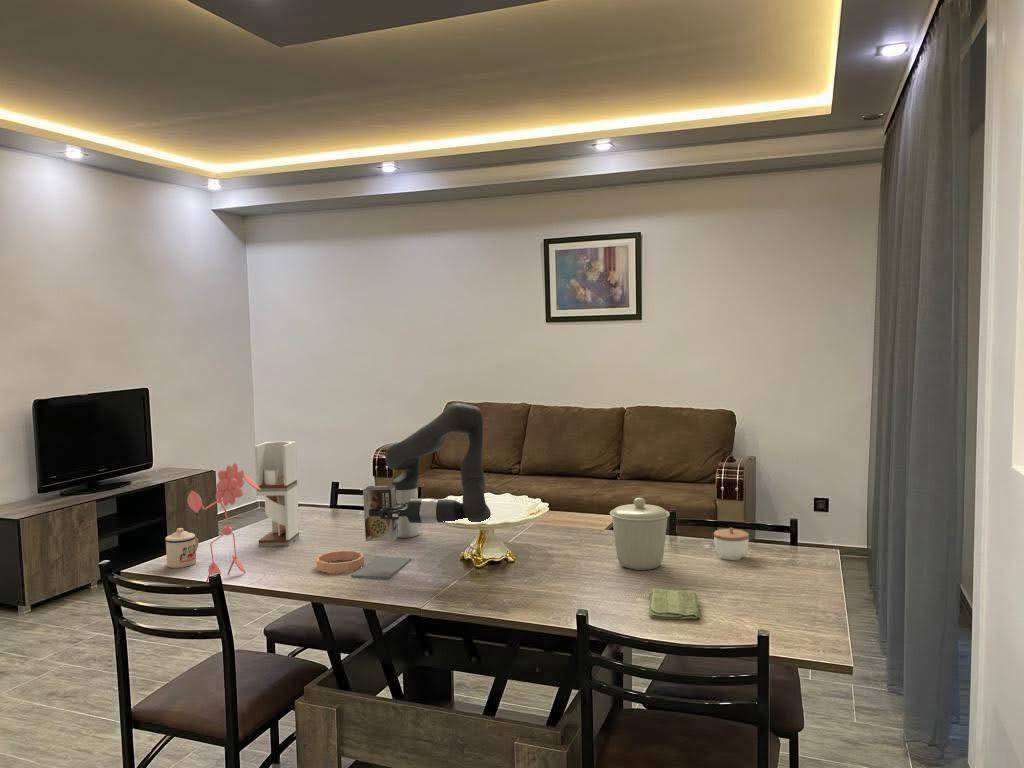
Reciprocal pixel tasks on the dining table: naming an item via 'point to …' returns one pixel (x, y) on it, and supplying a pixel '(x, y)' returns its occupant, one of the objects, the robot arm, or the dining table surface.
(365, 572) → the rubber mat
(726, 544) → the lidded jar
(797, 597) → the dining table surface
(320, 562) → the terracotta ring
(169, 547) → the teacup with lid
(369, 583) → the dining table surface
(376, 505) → the printed cardboard box
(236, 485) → the pink flower stick figure
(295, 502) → the display case
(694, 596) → the washcloth
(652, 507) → the canister
